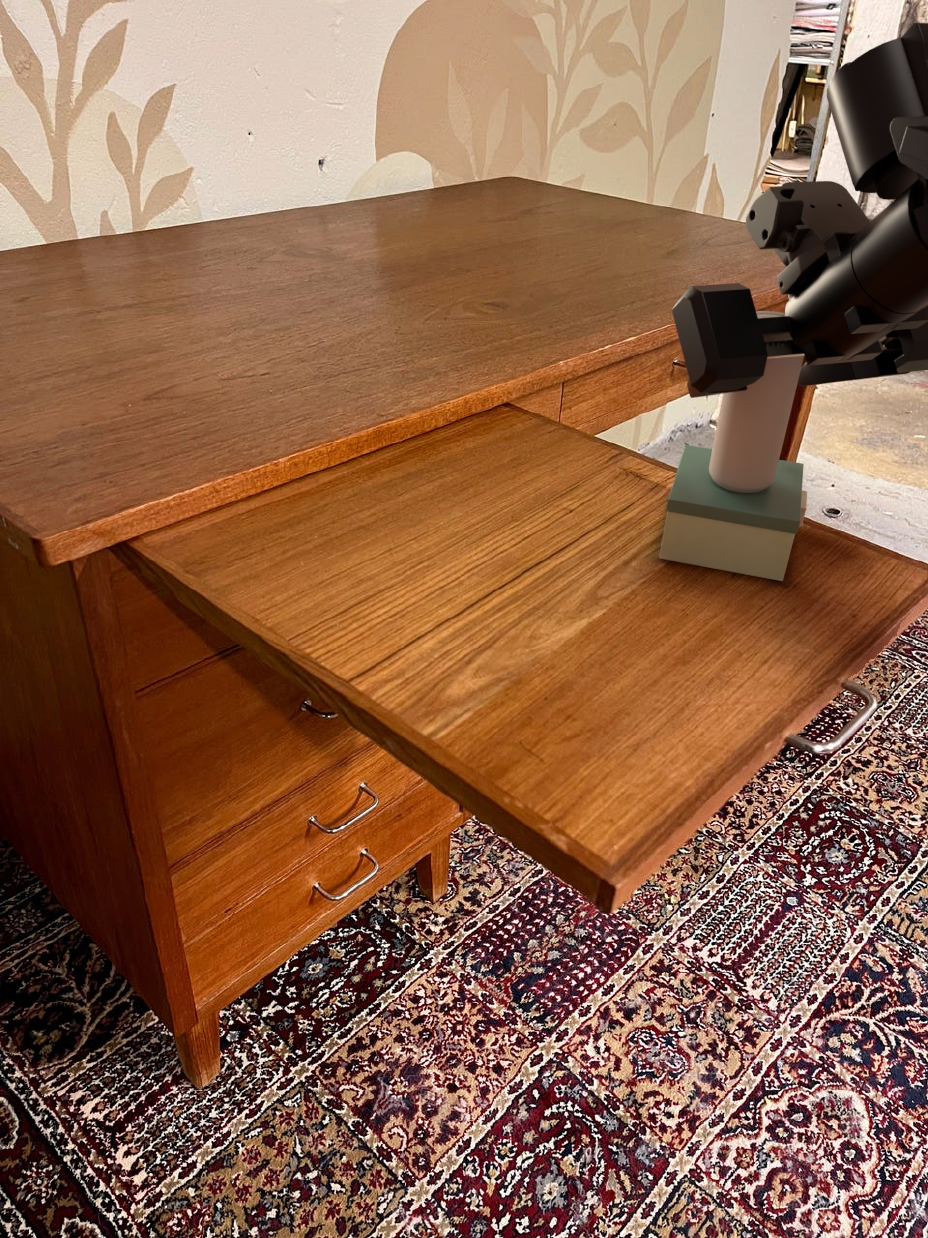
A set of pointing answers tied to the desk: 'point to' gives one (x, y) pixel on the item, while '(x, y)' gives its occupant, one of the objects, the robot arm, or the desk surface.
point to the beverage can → (755, 426)
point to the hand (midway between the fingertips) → (746, 385)
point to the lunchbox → (732, 519)
